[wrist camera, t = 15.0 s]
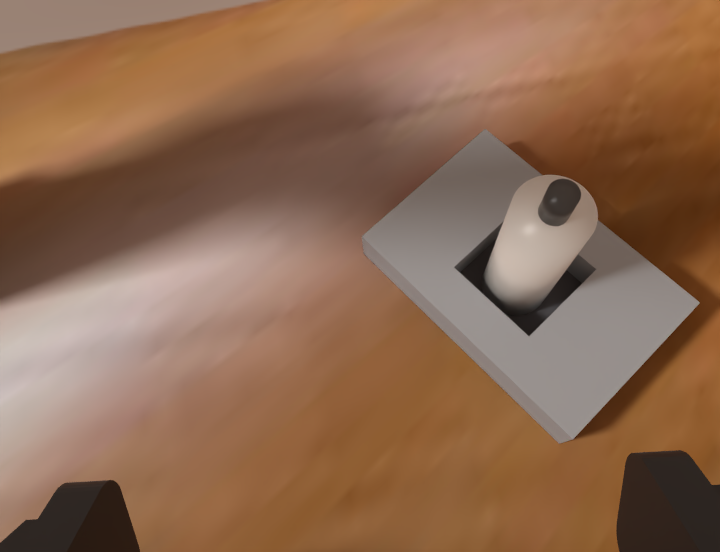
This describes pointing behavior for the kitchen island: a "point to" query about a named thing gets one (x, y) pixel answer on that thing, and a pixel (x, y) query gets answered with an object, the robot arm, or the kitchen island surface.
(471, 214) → the socket
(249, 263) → the kitchen island surface
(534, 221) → the plug
